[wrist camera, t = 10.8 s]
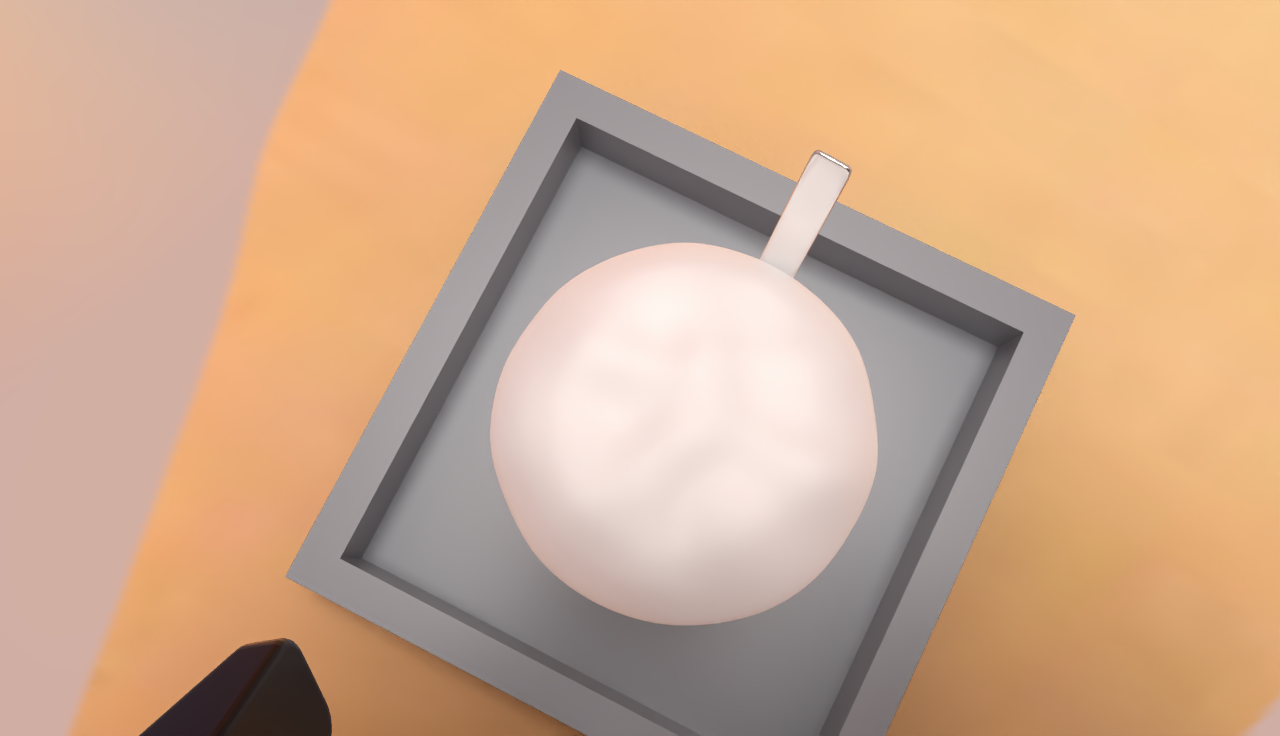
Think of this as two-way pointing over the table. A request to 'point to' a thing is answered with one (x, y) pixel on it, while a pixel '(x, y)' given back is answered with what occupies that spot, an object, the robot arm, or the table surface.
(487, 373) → the tray
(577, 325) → the milkshake
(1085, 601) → the table surface
